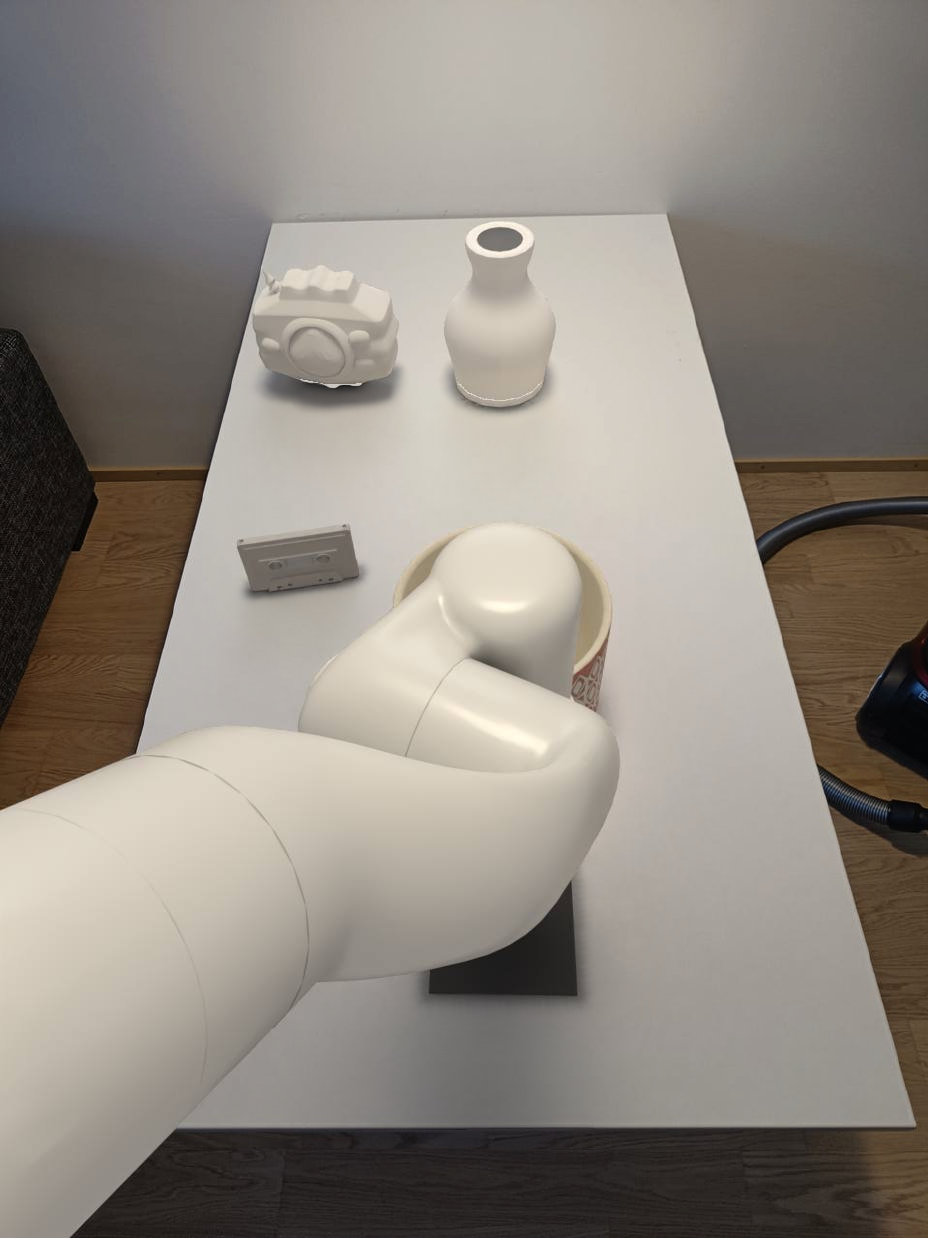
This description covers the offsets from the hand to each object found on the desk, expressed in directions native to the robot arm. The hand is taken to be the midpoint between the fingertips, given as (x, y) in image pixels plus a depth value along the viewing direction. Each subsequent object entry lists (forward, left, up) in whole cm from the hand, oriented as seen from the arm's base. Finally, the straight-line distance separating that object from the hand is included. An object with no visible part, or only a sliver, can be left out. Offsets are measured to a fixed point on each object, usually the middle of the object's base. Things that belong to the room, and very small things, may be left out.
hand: (503, 831), depth 65 cm
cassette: (+28, +31, -14) cm, 44 cm away
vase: (+68, +20, -14) cm, 72 cm away
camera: (+61, +41, -14) cm, 75 cm away
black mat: (0, 0, -14) cm, 14 cm away
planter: (+20, +6, -14) cm, 25 cm away
